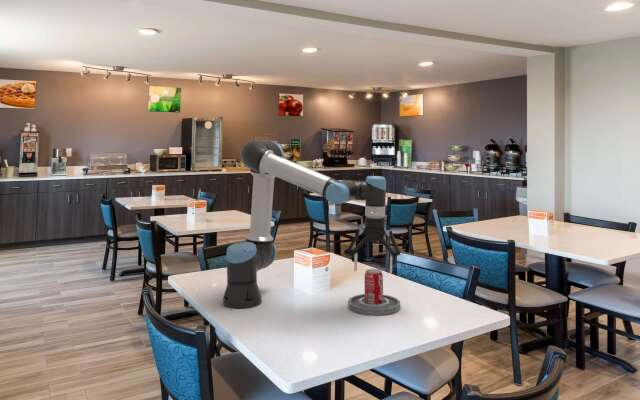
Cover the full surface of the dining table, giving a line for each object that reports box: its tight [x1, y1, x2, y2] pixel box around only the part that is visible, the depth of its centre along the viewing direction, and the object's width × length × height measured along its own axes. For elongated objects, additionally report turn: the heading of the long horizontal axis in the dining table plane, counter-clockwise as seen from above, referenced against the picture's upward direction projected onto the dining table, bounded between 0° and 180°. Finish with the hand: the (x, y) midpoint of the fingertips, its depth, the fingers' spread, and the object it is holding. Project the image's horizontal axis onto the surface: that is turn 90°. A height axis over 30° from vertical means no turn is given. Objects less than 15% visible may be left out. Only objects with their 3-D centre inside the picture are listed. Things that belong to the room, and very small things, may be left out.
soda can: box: [364, 268, 384, 305], centre depth 182 cm, size 7×7×13 cm
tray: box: [347, 293, 401, 317], centre depth 182 cm, size 20×20×2 cm
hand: (373, 271), depth 181 cm, fingers open, 13 cm apart
